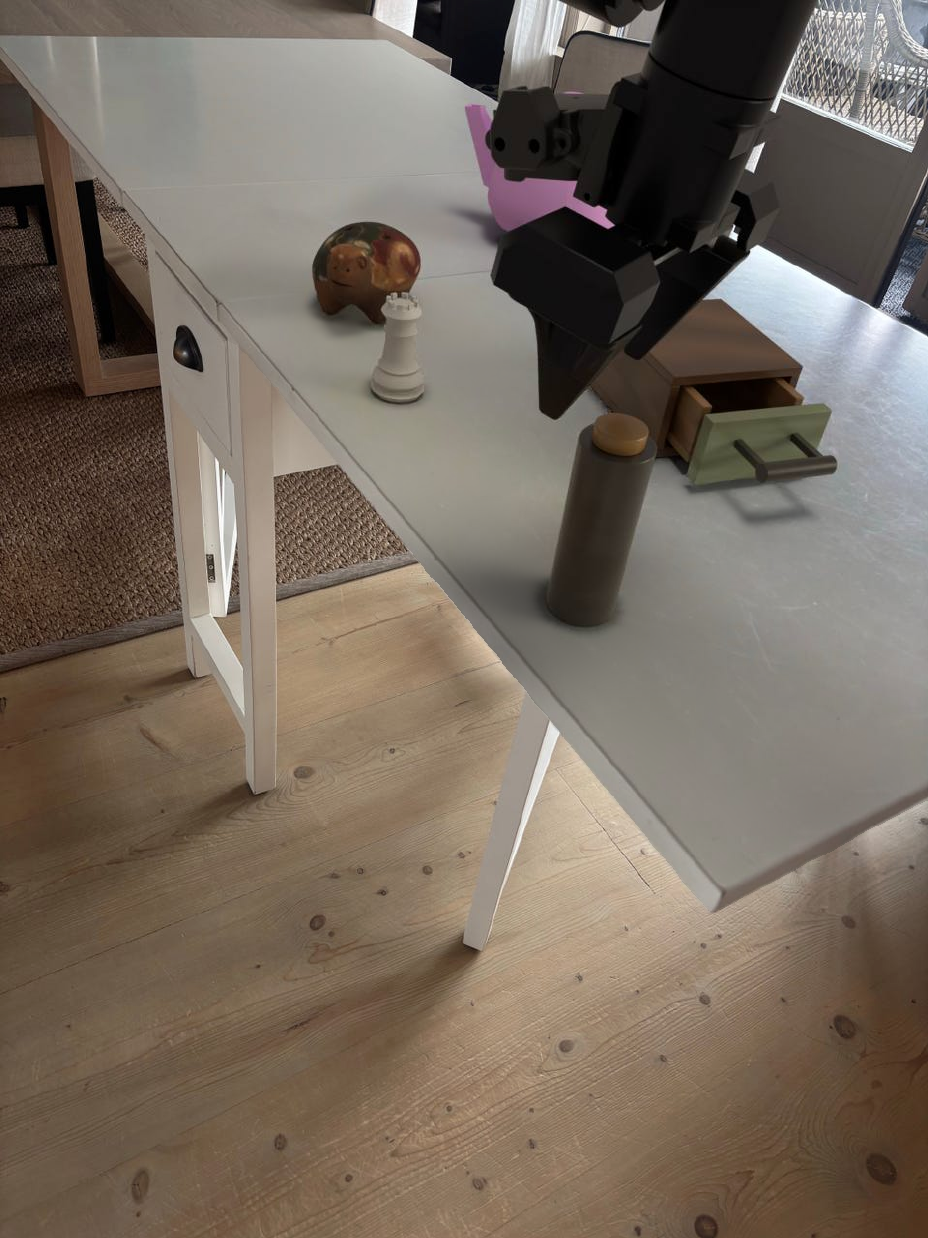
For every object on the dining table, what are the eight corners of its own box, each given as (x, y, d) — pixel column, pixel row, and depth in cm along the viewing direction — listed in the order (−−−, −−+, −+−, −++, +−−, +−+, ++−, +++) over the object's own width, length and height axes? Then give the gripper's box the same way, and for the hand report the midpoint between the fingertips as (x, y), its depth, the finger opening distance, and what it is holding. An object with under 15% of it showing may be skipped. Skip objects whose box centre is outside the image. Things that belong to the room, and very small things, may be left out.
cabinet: (775, 444, 78) (803, 366, 73) (652, 458, 75) (674, 376, 70) (700, 372, 87) (721, 298, 82) (586, 381, 83) (602, 304, 78)
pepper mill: (627, 612, 60) (678, 435, 52) (576, 635, 58) (619, 455, 49) (583, 574, 63) (623, 399, 54) (532, 595, 61) (566, 416, 52)
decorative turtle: (294, 334, 84) (289, 242, 80) (339, 282, 96) (337, 199, 92) (399, 346, 84) (401, 254, 79) (432, 292, 96) (435, 209, 91)
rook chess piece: (383, 408, 76) (387, 314, 71) (362, 382, 79) (364, 290, 74) (433, 400, 78) (440, 307, 73) (410, 375, 81) (416, 284, 76)
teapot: (487, 190, 119) (502, 55, 109) (641, 223, 116) (670, 87, 106) (432, 238, 105) (443, 88, 95) (604, 278, 101) (635, 126, 91)
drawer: (844, 504, 71) (871, 443, 67) (726, 521, 67) (747, 457, 64) (732, 398, 82) (751, 340, 78) (626, 407, 78) (640, 348, 75)
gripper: (650, -16, 48) (558, 269, 59) (430, 17, 36) (368, 368, 47) (847, 72, 45) (711, 355, 56) (680, 141, 33) (550, 485, 44)
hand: (592, 383), depth 51 cm, fingers open, 9 cm apart
